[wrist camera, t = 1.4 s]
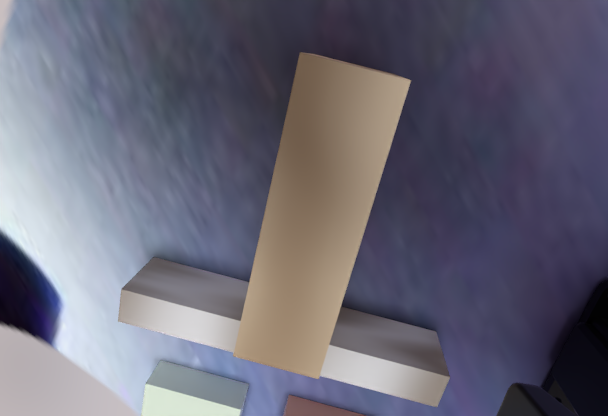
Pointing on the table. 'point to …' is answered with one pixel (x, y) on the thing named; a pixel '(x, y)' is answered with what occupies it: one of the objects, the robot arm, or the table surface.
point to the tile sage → (191, 393)
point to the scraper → (307, 251)
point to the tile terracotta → (313, 408)
